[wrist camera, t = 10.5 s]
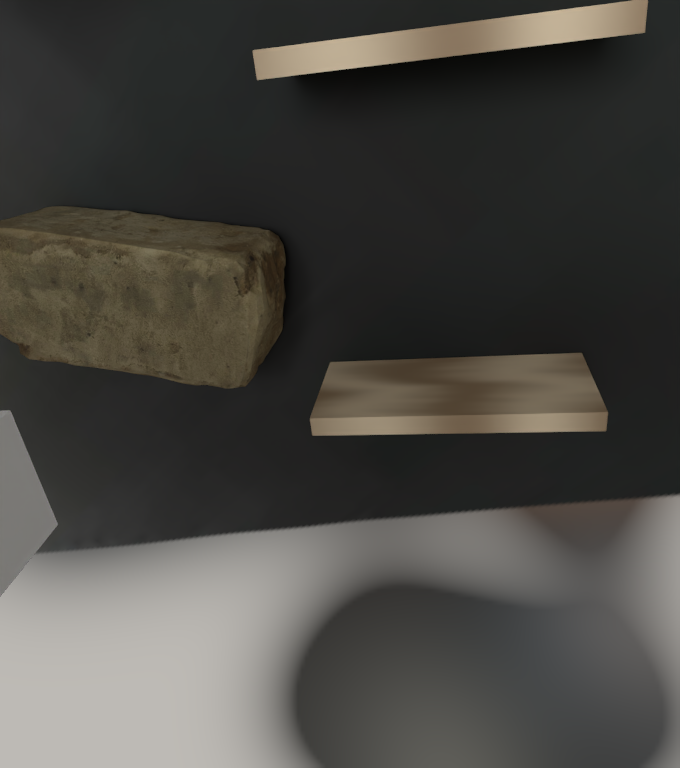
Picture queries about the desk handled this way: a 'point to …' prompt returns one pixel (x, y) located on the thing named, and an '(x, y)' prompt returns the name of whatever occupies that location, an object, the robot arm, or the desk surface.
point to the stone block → (142, 293)
